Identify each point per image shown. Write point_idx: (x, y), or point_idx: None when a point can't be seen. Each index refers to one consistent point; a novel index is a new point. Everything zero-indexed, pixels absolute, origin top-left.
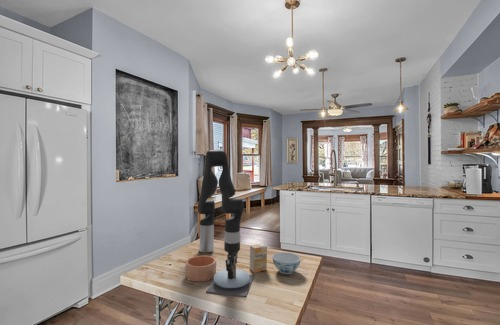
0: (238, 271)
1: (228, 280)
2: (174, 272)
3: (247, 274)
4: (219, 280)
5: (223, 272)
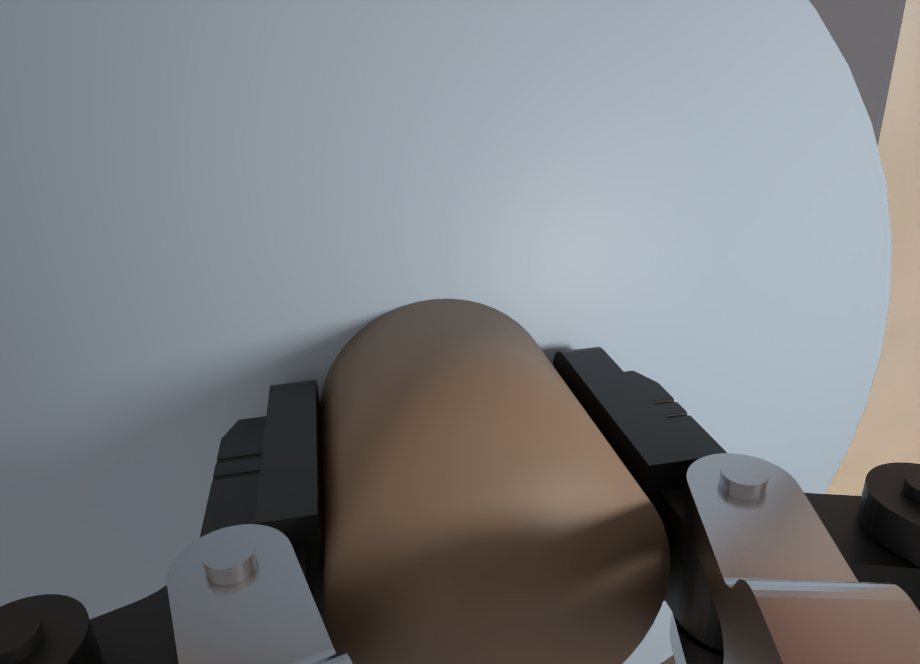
0: (756, 450)
1: (192, 412)
2: None
3: (633, 659)
4: (59, 161)
5: (654, 76)
